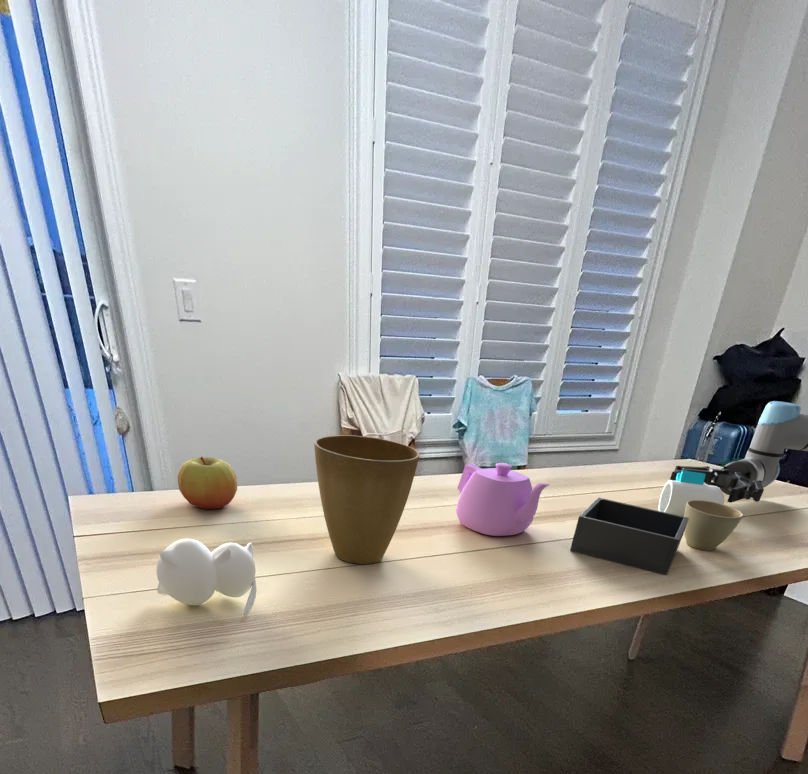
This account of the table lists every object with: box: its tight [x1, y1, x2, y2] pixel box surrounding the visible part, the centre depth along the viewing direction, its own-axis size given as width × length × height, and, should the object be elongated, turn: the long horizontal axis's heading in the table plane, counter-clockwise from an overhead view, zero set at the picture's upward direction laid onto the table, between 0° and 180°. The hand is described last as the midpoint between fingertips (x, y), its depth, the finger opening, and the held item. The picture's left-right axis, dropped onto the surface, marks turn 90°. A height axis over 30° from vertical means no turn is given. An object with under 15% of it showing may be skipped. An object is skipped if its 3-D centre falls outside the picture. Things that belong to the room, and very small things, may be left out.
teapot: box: [455, 462, 551, 537], centre depth 113 cm, size 13×20×11 cm
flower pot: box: [684, 500, 744, 551], centre depth 119 cm, size 10×10×7 cm
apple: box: [177, 456, 238, 510], centre depth 108 cm, size 10×10×8 cm
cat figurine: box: [156, 538, 258, 617], centre depth 77 cm, size 9×11×12 cm
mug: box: [657, 470, 725, 517], centre depth 136 cm, size 12×9×12 cm
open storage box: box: [569, 497, 689, 576], centre depth 112 cm, size 17×16×6 cm
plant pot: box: [313, 434, 421, 565], centre depth 94 cm, size 15×15×16 cm
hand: (700, 486), depth 136 cm, fingers open, 13 cm apart
